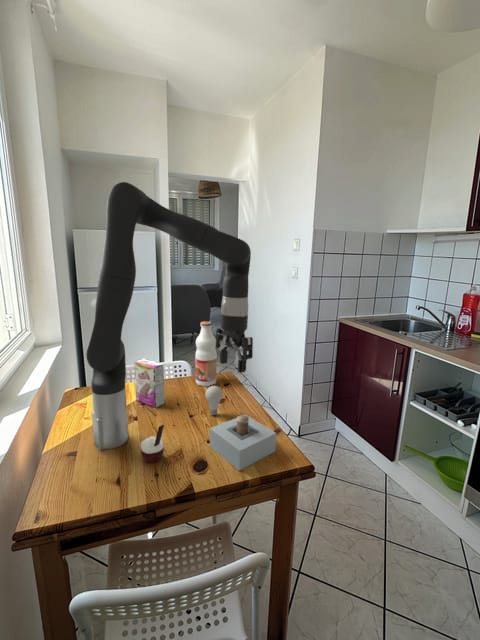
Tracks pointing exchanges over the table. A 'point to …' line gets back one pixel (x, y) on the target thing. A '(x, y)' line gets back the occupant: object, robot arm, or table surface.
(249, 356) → the robot arm
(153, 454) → the cocoa
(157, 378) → the candy bar box
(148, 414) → the table surface
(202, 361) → the fruit juice
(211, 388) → the lightbulb
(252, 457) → the socket block
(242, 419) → the dowel
